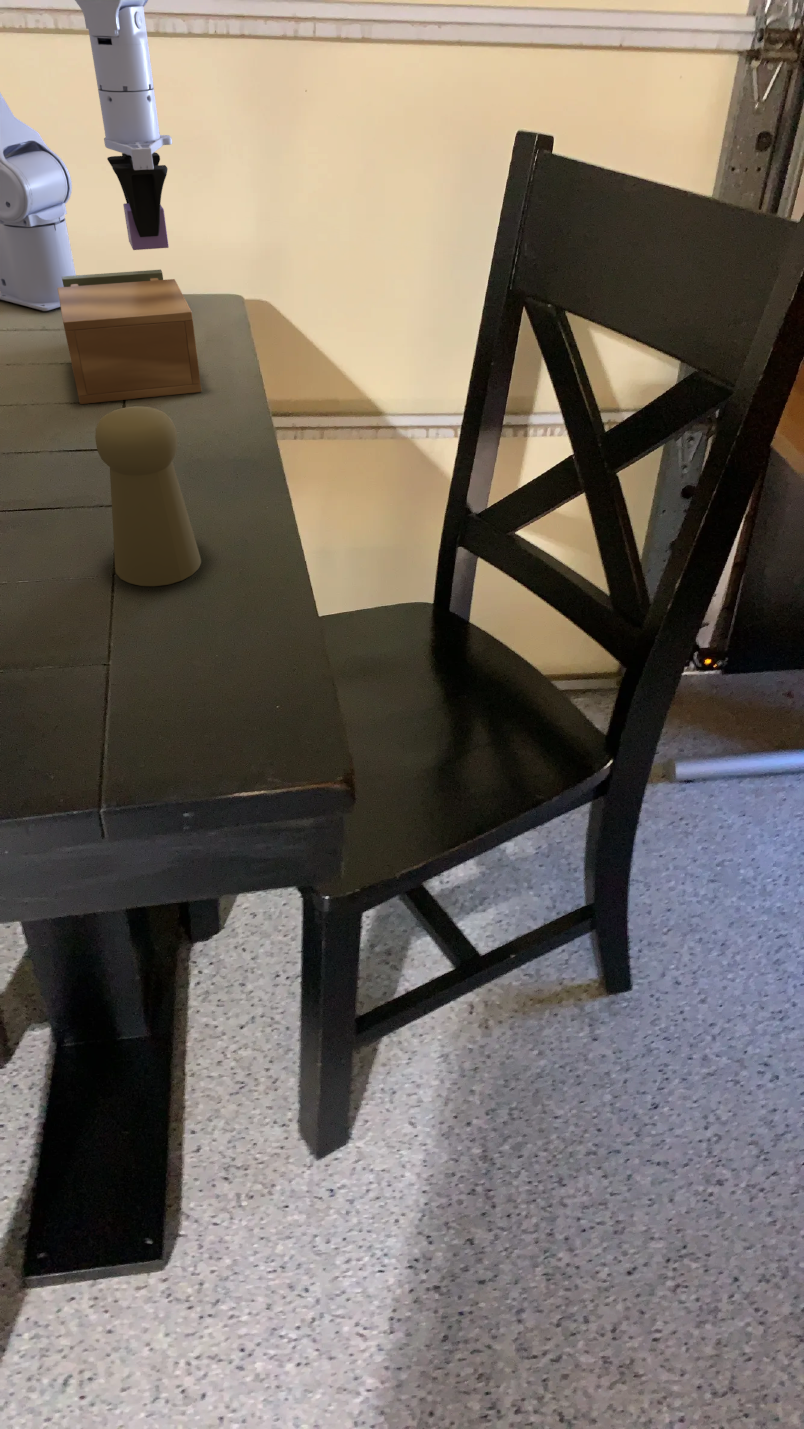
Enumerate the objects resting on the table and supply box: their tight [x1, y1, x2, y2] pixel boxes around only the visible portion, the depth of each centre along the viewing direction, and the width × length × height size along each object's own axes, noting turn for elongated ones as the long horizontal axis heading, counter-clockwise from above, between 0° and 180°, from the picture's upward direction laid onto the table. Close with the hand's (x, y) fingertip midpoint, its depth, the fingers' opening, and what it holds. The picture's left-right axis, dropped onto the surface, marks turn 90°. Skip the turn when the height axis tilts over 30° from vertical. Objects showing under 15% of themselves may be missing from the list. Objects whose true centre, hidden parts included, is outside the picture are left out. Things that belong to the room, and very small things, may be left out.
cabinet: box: [57, 278, 202, 405], centre depth 94 cm, size 12×12×8 cm
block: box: [123, 202, 169, 251], centre depth 108 cm, size 4×4×4 cm
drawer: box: [62, 269, 164, 287], centre depth 102 cm, size 15×10×6 cm
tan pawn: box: [94, 405, 202, 587], centre depth 64 cm, size 6×6×11 cm
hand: (146, 231), depth 108 cm, fingers closed on block, 4 cm apart
